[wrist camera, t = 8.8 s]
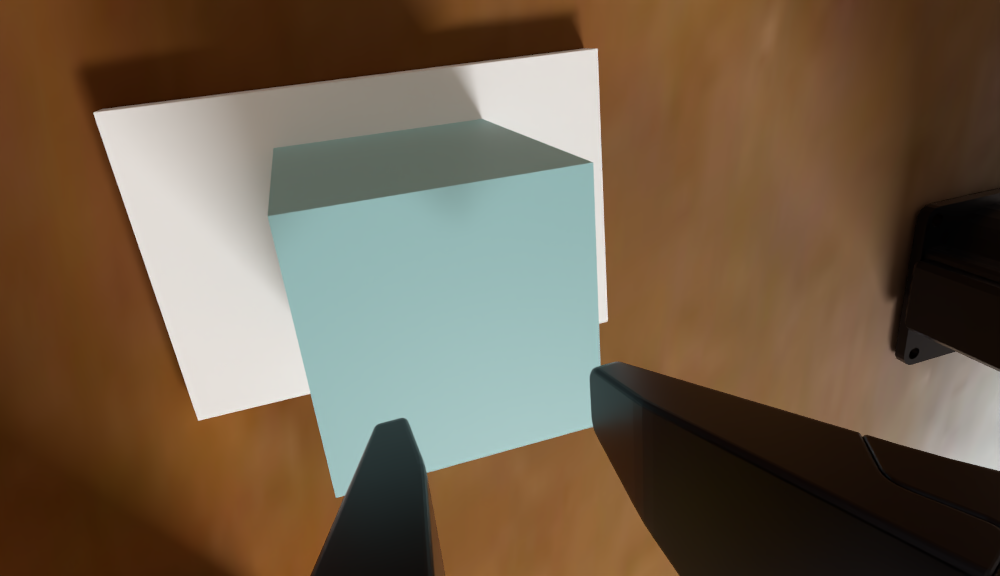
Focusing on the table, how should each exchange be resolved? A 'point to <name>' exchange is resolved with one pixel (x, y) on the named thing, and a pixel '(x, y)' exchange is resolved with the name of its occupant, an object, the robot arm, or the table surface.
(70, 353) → the table surface
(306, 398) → the table surface
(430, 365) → the teal rectangular block
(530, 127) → the post stand
